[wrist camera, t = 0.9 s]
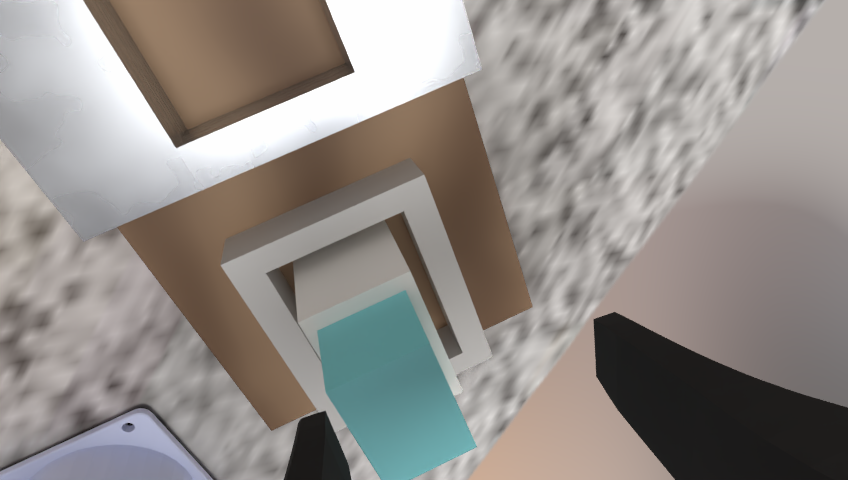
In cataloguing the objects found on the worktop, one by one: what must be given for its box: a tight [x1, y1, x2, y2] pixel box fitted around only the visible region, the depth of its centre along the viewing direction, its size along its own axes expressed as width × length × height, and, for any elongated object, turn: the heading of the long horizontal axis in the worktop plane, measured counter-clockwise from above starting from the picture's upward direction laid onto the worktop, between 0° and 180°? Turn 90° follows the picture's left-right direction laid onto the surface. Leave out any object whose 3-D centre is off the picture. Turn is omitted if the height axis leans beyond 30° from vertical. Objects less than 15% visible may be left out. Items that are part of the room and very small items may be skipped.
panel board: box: [109, 0, 532, 431], centre depth 19 cm, size 14×24×1 cm, turn 20°
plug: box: [293, 220, 477, 480], centre depth 19 cm, size 4×6×8 cm, turn 20°
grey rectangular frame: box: [221, 158, 493, 433], centre depth 21 cm, size 8×10×2 cm
